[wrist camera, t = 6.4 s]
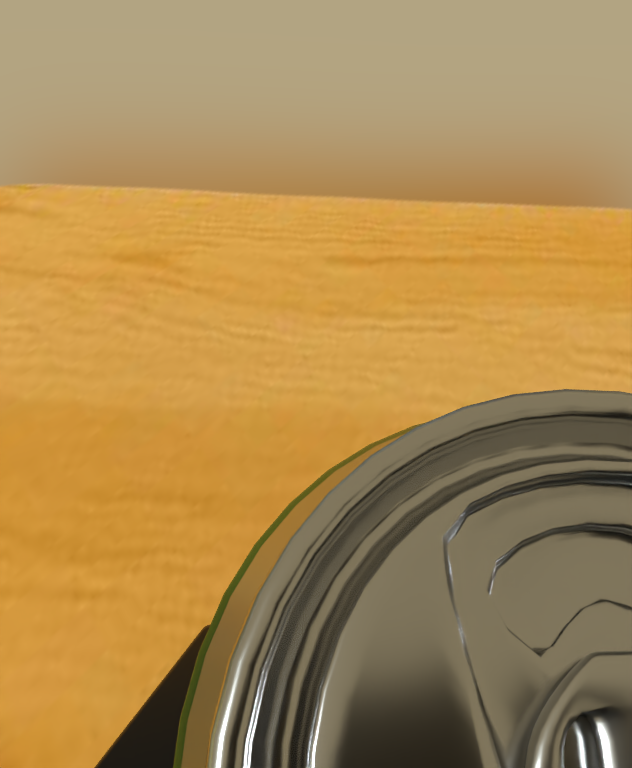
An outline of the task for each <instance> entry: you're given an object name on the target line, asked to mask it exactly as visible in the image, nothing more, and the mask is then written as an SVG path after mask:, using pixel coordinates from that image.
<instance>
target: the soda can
mask: <svg viewBox="0 0 632 768" xmlns="http://www.w3.org/2000/svg"><path fill="white" fill-rule="evenodd" d="M173 768H632V394H631V393H625V392H619V391H595V390H571V389H563V390H553V391H543V392H533V393H523V394H513V395H509V396H505V397H501V398H497V399H493V400H489V401H485V402H481V403H477V404H473V405H470V406H466V407H462V408H460V409H457V410H455V411H453V412H450V413H448V414H446V415H443V416H441V417H439V418H436V419H434V420H432V421H429V422H427V423H423V424H419V425H415V426H412V427H409V428H407V429H405V430H402V431H400V432H398V433H395V434H393V435H391V436H388V437H386V438H384V439H381V440H379V441H376V442H374V443H372V444H369V445H368V446H366V447H365V448H363V449H361V450H360V451H358V452H357V453H355V454H353V455H352V456H350V457H349V458H347V459H345V460H344V461H342V462H340V463H339V464H337V465H336V466H334V467H332V468H331V469H329V470H328V471H327V472H325V473H324V474H323V475H322V476H321V477H320V478H318V479H317V480H316V481H315V482H314V483H313V484H312V485H310V486H309V487H308V488H307V489H306V490H305V491H303V492H302V493H301V494H300V495H299V496H298V497H297V498H295V499H294V500H293V501H292V502H291V503H290V504H289V505H288V506H287V507H286V508H285V509H284V511H283V512H282V513H281V514H280V515H279V517H278V518H277V519H276V520H275V521H274V522H273V524H272V525H271V526H270V527H269V528H268V529H267V531H266V532H265V533H264V534H263V535H262V537H261V538H260V539H259V540H258V541H257V542H256V544H255V545H254V546H253V548H252V550H251V551H250V553H249V554H248V556H247V558H246V559H245V561H244V563H243V564H242V566H241V567H240V569H239V571H238V572H237V574H236V575H235V577H234V579H233V580H232V582H231V583H230V585H229V587H228V588H227V590H226V592H225V593H224V595H223V597H222V600H221V602H220V604H219V607H218V609H217V611H216V613H215V616H214V618H213V620H212V623H211V625H210V627H209V629H208V632H207V634H206V636H205V639H204V641H203V643H202V645H201V648H200V650H199V652H198V656H197V660H196V663H195V667H194V670H193V674H192V677H191V681H190V685H189V688H188V692H187V695H186V699H185V702H184V706H183V709H182V713H181V717H180V722H179V729H178V736H177V743H176V750H175V757H174V764H173Z"/></svg>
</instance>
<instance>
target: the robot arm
mask: <svg viewBox="0 0 632 768" xmlns="http://www.w3.org/2000/svg"><path fill="white" fill-rule="evenodd" d="M209 627H210V625H207V626H205V627H204V628H203V629H202V630H201V632H200V633H199V634H198V635H197V637H196V638H195V639H194V641H193V642H192V643H191V644H190V646H189V647H188V648H187V650H186V651H185V652H184V653H183V655H182V656H181V657H180V659H179V660H178V661H177V662H176V664H175V665H174V666H173V668H172V669H171V670H170V671H169V673H168V674H167V675H166V677H165V678H164V679H163V680H162V682H161V683H160V684H159V686H158V687H157V688H156V689H155V691H154V692H153V693H152V694H151V696H150V697H149V698H148V700H147V701H146V702H145V703H144V705H143V706H142V707H141V709H140V710H139V711H138V712H137V714H136V715H135V716H134V718H133V719H132V720H131V721H130V723H129V724H128V725H127V727H126V728H125V729H124V730H123V732H122V733H121V734H120V736H119V737H118V738H117V739H116V741H115V742H114V743H113V745H112V746H111V747H110V748H109V750H108V751H107V752H106V754H105V755H104V756H103V757H102V759H101V760H100V761H99V763H98V764H97V765H96V766H95V768H173V764H174V757H175V750H176V743H177V736H178V729H179V722H180V717H181V713H182V709H183V706H184V702H185V699H186V695H187V692H188V688H189V685H190V681H191V677H192V674H193V670H194V667H195V663H196V660H197V656H198V652H199V650H200V648H201V645H202V643H203V641H204V639H205V636H206V634H207V632H208V629H209Z"/></svg>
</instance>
